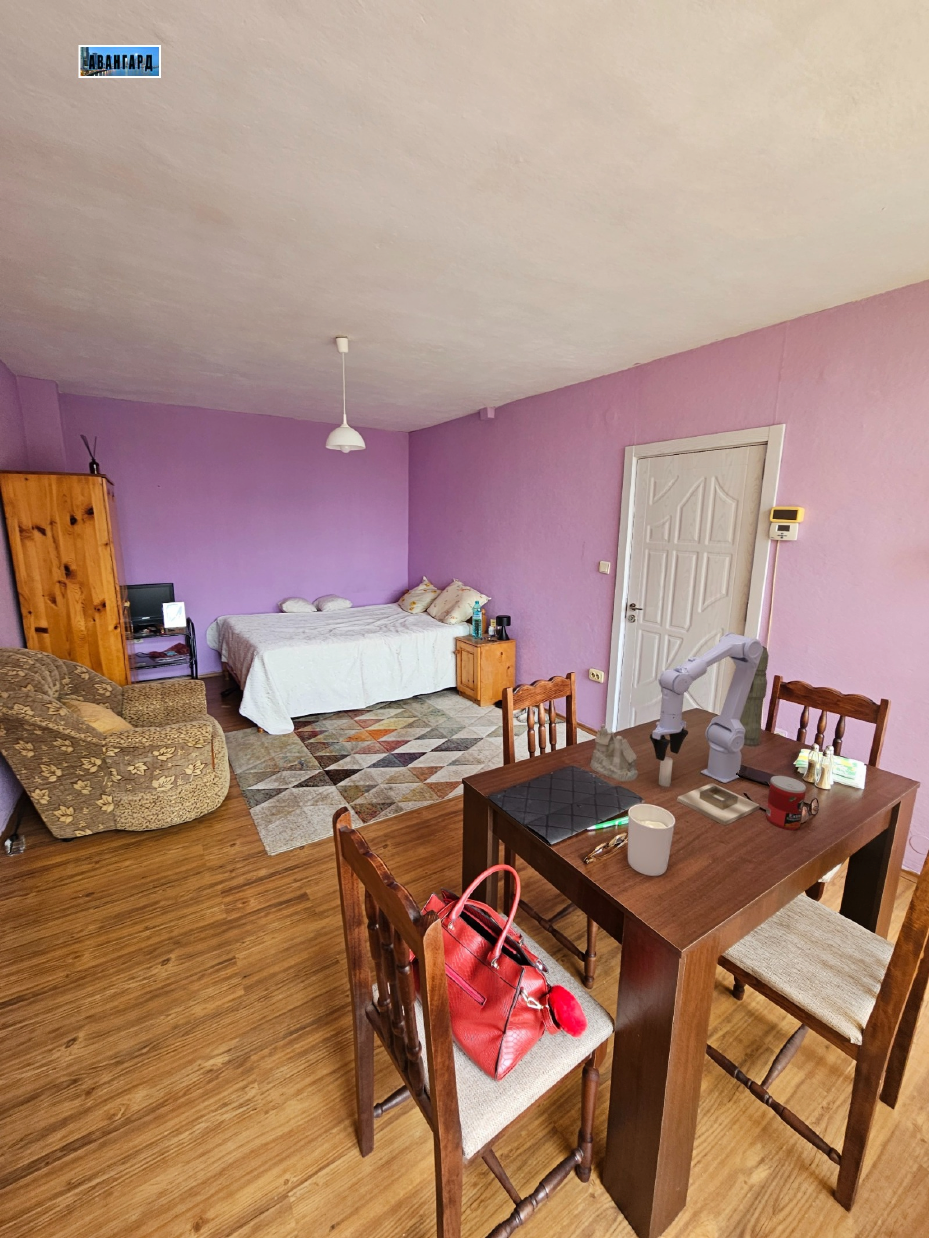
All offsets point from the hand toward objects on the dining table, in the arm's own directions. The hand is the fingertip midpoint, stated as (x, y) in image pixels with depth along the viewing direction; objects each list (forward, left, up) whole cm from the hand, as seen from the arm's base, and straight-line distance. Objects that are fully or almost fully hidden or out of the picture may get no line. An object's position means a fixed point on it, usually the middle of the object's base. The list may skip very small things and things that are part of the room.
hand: (667, 756), depth 151 cm
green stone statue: (-54, -7, -10) cm, 55 cm away
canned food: (-11, +28, -10) cm, 32 cm away
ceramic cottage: (+3, -16, -10) cm, 19 cm away
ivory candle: (-1, -1, -9) cm, 9 cm away
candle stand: (-4, +14, -9) cm, 18 cm away
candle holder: (+34, +21, -10) cm, 41 cm away
